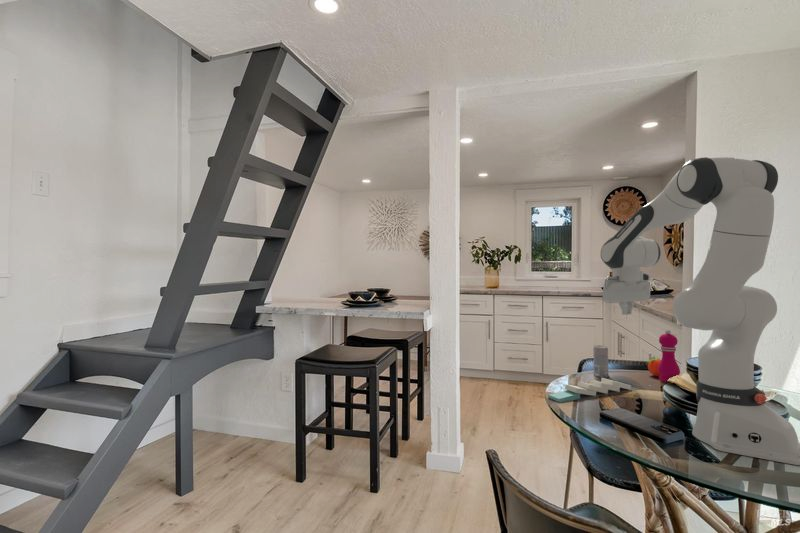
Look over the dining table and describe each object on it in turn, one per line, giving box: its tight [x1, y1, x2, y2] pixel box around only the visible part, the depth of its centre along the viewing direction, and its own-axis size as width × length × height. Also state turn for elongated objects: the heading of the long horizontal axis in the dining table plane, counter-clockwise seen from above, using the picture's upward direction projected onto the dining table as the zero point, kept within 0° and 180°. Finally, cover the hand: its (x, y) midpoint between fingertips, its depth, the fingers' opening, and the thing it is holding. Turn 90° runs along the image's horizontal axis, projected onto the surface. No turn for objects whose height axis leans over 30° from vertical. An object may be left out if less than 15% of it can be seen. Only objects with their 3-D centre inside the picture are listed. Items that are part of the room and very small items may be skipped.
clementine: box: [645, 358, 661, 377], centre depth 168 cm, size 8×7×7 cm
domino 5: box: [600, 377, 632, 390], centre depth 148 cm, size 2×5×9 cm
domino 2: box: [564, 384, 596, 396], centre depth 142 cm, size 2×5×9 cm
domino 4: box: [588, 379, 620, 392], centre depth 146 cm, size 2×5×9 cm
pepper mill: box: [658, 329, 681, 383], centre depth 159 cm, size 7×7×20 cm
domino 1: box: [548, 389, 581, 403], centre depth 139 cm, size 2×5×9 cm
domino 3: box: [576, 380, 608, 394], centre depth 144 cm, size 2×5×9 cm
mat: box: [576, 386, 638, 401], centre depth 146 cm, size 29×6×1 cm, turn 113°
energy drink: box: [593, 345, 609, 378], centre depth 169 cm, size 5×5×12 cm
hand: (626, 314), depth 150 cm, fingers closed
